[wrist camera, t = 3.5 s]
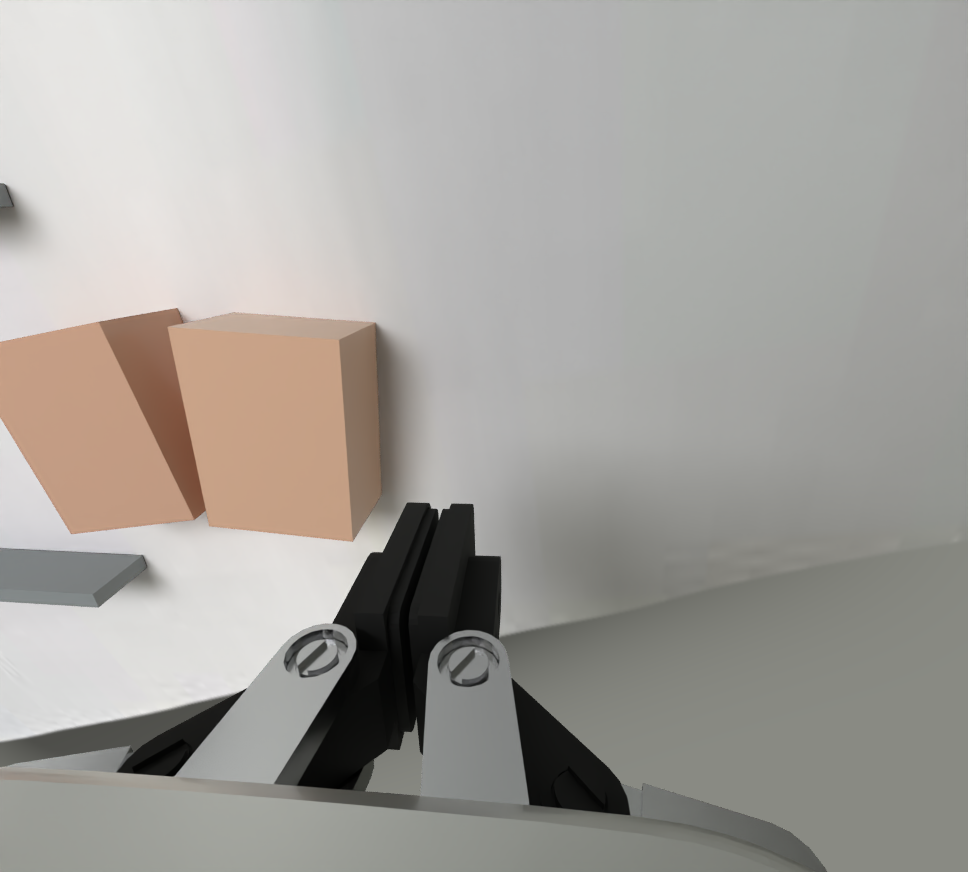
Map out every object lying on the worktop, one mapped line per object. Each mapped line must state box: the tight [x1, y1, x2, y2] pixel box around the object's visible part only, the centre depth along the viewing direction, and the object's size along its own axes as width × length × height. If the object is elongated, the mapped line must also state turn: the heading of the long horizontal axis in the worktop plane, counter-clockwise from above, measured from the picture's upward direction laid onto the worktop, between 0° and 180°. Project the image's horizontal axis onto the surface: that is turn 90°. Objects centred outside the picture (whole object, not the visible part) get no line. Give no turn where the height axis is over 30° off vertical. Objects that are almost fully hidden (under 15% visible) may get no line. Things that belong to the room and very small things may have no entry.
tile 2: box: [168, 312, 382, 542], centre depth 19 cm, size 6×8×4 cm
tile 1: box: [0, 308, 206, 534], centre depth 19 cm, size 6×8×4 cm
